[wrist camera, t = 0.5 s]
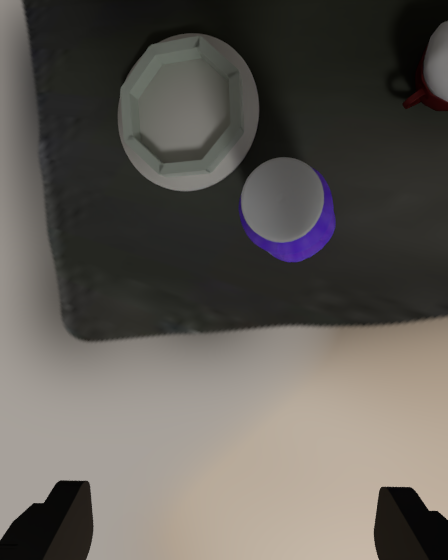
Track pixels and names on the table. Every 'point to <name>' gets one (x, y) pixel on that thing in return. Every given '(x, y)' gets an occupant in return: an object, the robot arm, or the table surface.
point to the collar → (188, 112)
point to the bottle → (287, 209)
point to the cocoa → (432, 73)
